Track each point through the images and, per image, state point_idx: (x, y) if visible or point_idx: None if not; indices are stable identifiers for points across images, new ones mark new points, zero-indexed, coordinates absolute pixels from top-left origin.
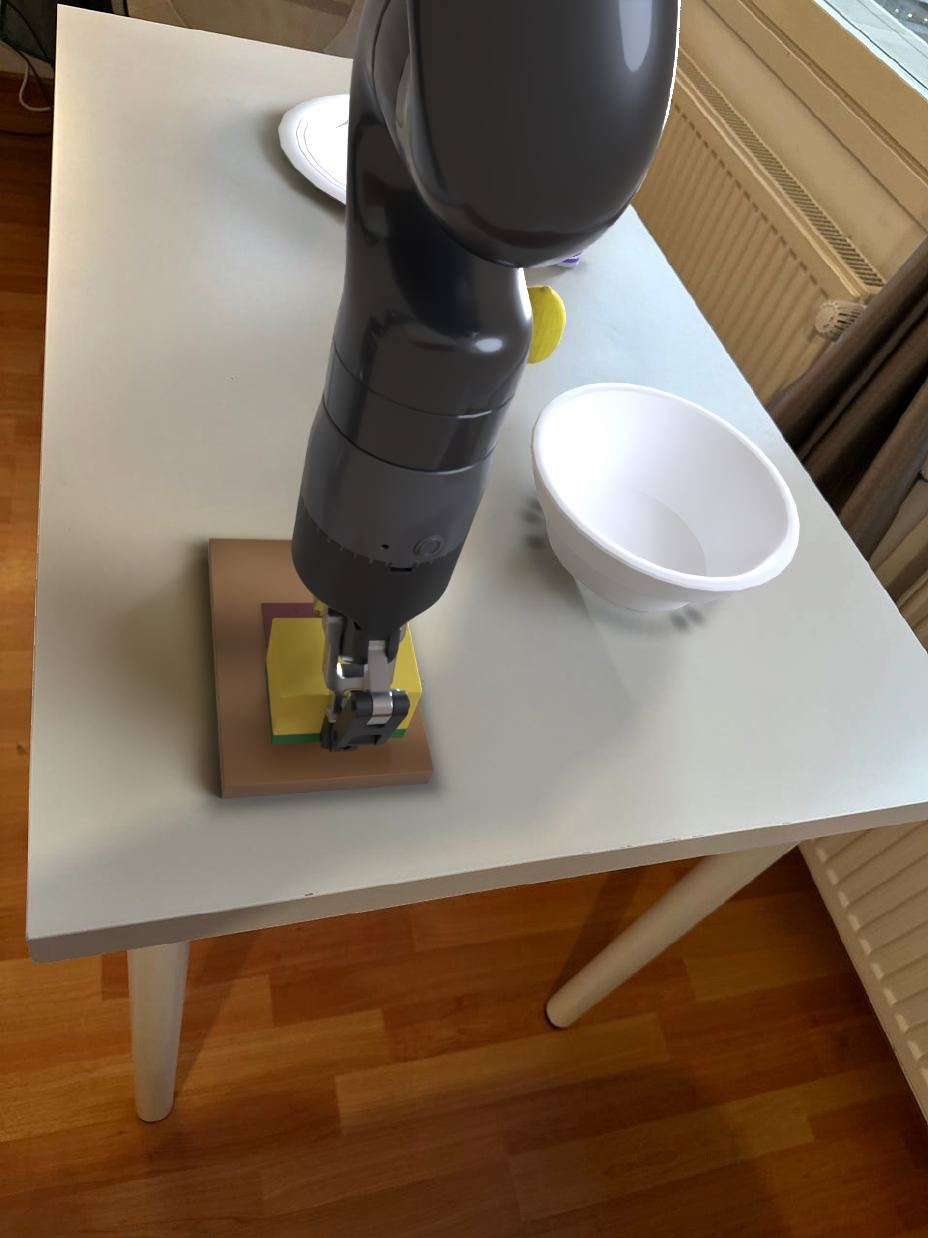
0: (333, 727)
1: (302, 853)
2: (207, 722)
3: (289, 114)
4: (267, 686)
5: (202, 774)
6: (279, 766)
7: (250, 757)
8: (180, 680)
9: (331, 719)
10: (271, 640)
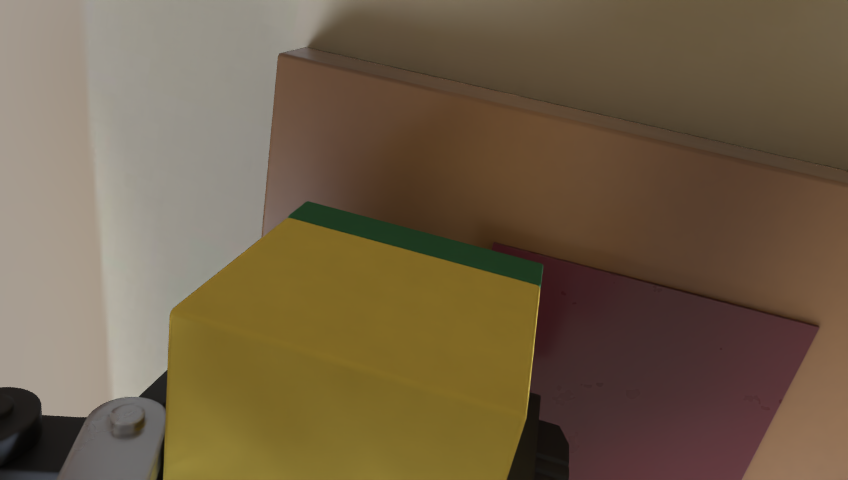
0: (38, 415)
1: (163, 171)
2: (514, 67)
3: None
4: (462, 253)
5: (375, 17)
6: (305, 196)
7: (342, 139)
8: (668, 30)
9: (90, 416)
10: (489, 352)
